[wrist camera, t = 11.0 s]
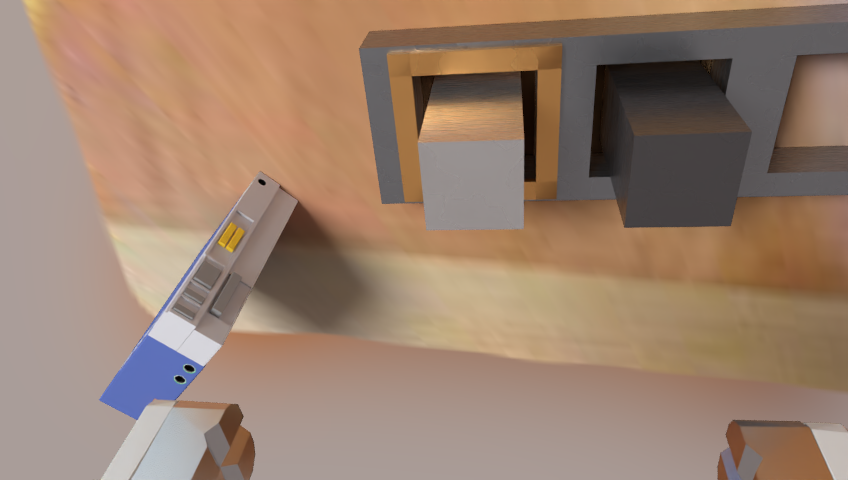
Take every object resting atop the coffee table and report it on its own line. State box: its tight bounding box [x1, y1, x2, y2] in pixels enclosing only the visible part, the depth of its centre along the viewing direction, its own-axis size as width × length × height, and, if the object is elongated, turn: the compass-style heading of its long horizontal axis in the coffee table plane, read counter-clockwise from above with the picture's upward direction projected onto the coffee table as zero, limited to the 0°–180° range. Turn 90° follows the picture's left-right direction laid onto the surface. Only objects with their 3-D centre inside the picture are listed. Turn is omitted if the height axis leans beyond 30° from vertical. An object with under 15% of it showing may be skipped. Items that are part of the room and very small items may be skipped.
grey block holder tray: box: [359, 4, 848, 204], centre depth 29 cm, size 26×8×3 cm, turn 95°
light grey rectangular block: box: [418, 71, 524, 230], centre depth 28 cm, size 4×4×8 cm
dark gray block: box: [600, 60, 752, 228], centre depth 27 cm, size 4×4×8 cm
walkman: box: [99, 171, 298, 420], centre depth 32 cm, size 8×3×12 cm, turn 142°
